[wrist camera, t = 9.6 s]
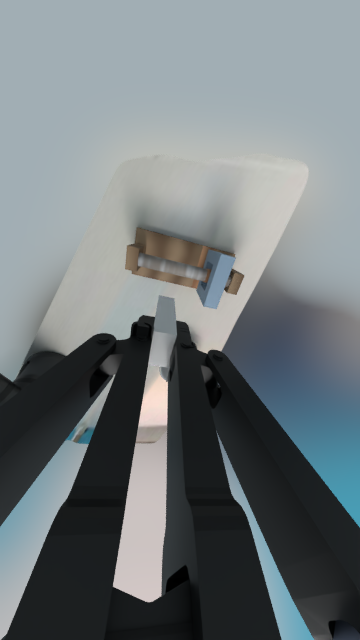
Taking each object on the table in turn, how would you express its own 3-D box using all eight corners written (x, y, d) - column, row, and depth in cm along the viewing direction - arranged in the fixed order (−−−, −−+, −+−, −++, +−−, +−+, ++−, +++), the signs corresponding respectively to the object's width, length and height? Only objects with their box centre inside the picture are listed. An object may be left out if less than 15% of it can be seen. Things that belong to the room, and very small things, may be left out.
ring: (196, 290, 38) (203, 306, 29) (208, 249, 34) (221, 254, 25) (206, 292, 38) (216, 309, 30) (219, 252, 34) (235, 257, 26)
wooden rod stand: (132, 272, 40) (121, 284, 30) (137, 227, 35) (125, 224, 26) (219, 292, 43) (232, 308, 34) (233, 253, 39) (253, 259, 29)
